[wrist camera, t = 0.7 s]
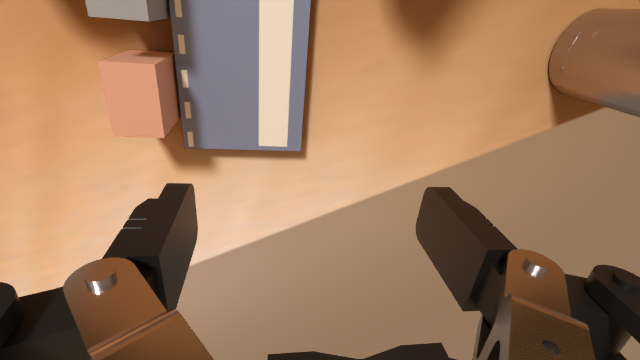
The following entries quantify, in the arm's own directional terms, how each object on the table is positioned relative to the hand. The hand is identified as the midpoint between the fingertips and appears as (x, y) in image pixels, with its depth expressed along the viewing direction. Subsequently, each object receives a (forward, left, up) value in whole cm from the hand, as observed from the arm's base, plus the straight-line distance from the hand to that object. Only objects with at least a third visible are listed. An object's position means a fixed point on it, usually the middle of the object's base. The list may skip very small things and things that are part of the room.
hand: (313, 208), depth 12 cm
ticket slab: (+4, -2, -26) cm, 26 cm away
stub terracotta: (+12, +2, -26) cm, 28 cm away
